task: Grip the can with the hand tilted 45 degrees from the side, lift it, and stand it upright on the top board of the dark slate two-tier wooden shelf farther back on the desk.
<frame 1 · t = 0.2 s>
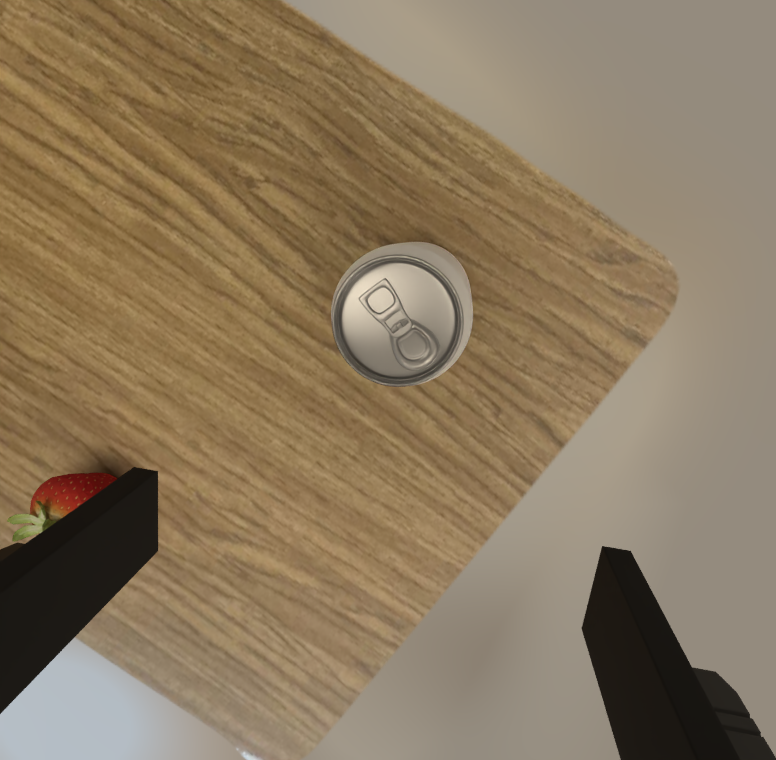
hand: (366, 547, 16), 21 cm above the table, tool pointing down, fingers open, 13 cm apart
can: (418, 293, 35), on the table
fruit: (113, 481, 41), on the table
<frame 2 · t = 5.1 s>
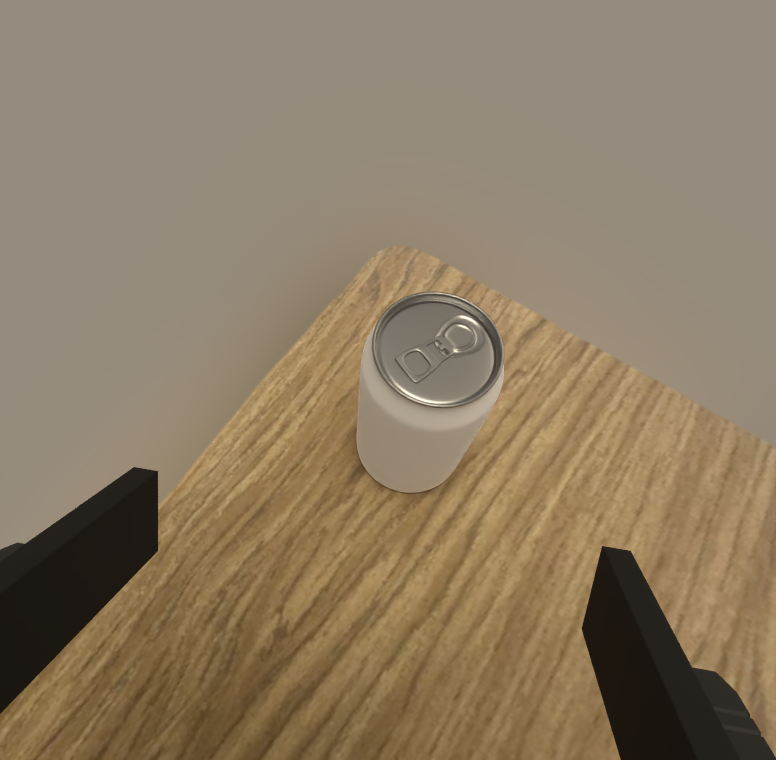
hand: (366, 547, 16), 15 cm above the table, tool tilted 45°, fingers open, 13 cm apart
can: (408, 444, 34), on the table
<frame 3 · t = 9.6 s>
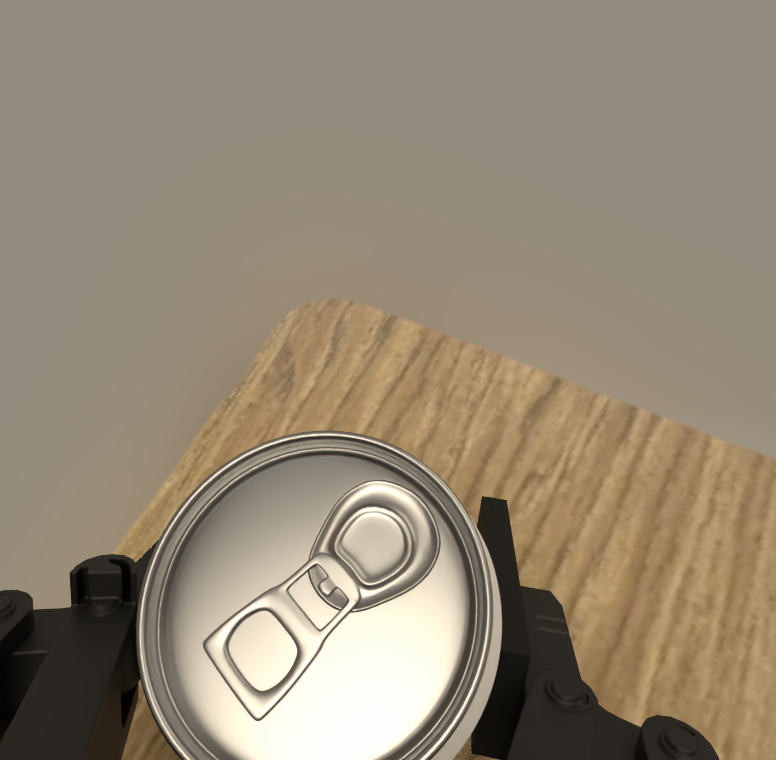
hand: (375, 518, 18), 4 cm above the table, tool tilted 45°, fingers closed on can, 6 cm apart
can: (360, 647, 19), on the table, touching gripper
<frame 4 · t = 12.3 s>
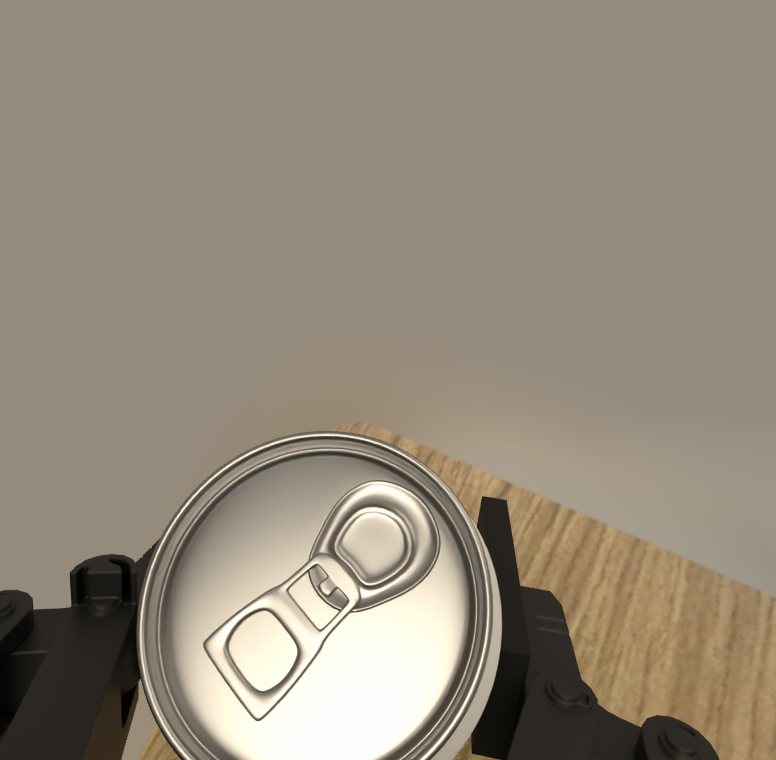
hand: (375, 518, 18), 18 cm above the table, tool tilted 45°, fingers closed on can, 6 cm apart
can: (360, 647, 19), point 14 cm above the table, touching gripper
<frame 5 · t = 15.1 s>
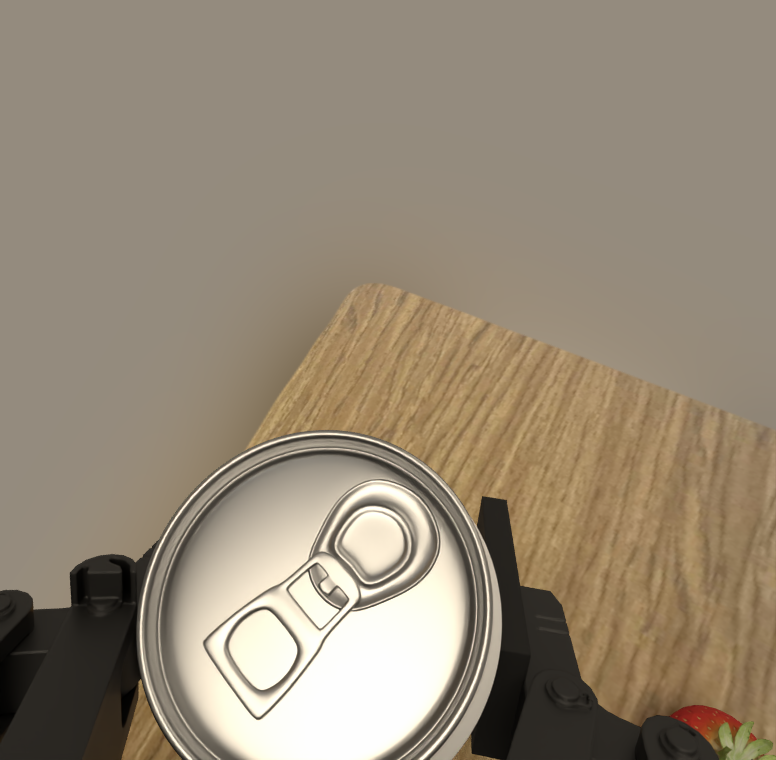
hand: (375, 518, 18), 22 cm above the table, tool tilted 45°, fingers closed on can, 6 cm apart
can: (360, 646, 19), point 19 cm above the table, touching gripper
fruit: (672, 752, 33), on the table
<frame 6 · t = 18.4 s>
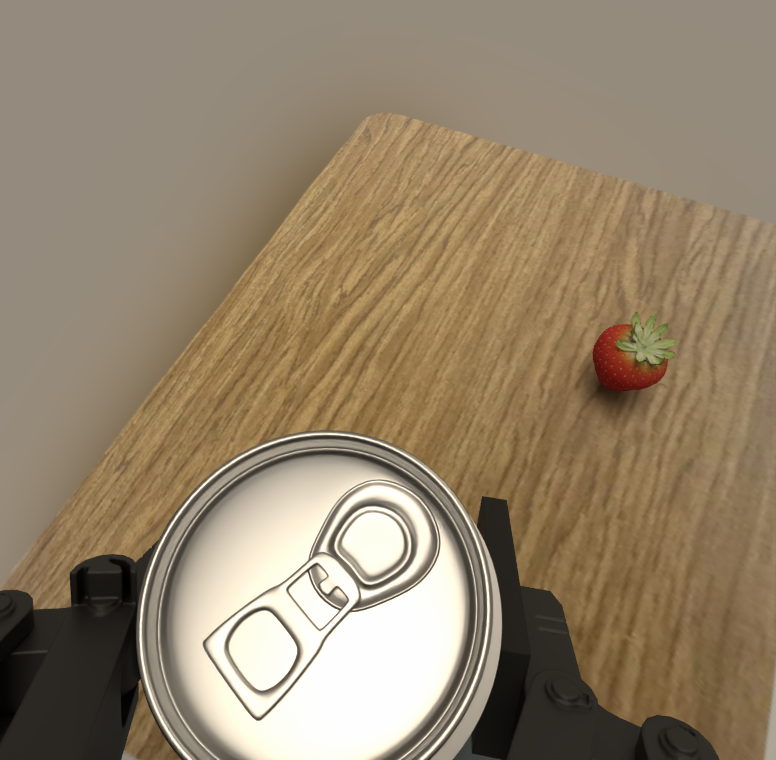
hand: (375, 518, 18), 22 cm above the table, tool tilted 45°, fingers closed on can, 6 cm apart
can: (360, 647, 19), point 18 cm above the table, touching gripper
shelf: (376, 691, 35), on the table
fruit: (609, 386, 45), on the table
when the fingers open (15 cm above the table, at t = 20.9 s): can stays where it is, resting on shelf.
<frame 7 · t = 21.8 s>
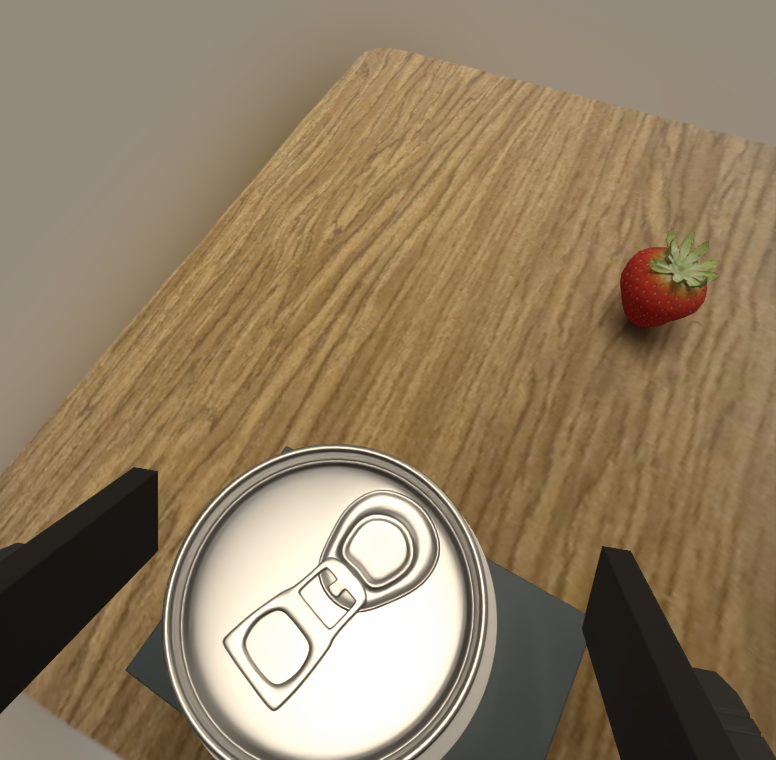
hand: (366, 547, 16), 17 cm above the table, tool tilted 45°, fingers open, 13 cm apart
can: (364, 646, 20), point 11 cm above the table, touching shelf
shelf: (374, 660, 29), on the table
fruit: (636, 324, 40), on the table
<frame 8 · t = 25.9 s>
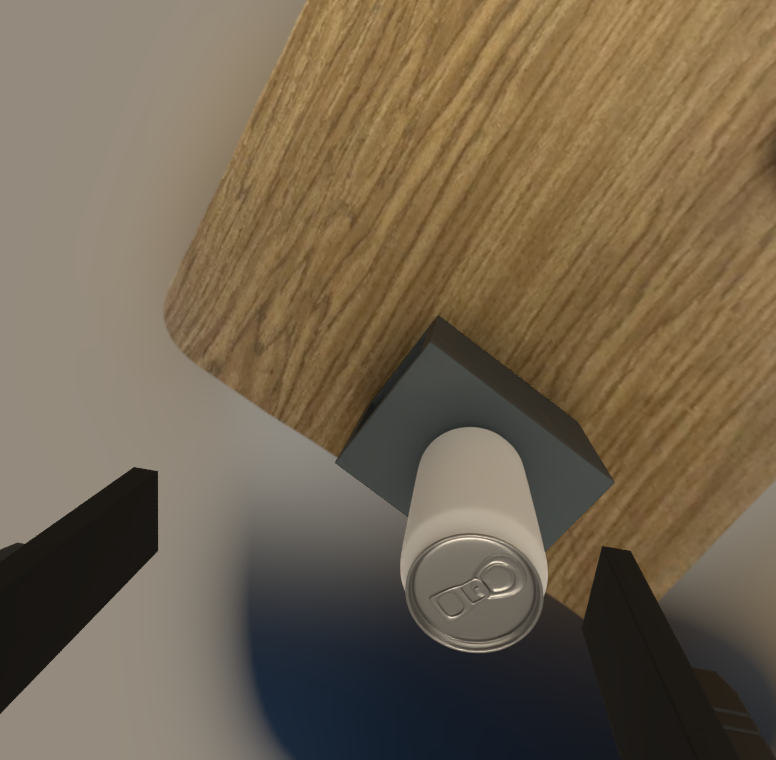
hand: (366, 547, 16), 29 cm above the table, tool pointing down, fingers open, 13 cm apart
can: (470, 472, 34), point 11 cm above the table, touching shelf
shelf: (468, 416, 44), on the table
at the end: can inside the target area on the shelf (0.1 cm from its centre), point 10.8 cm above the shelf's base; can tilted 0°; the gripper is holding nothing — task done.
